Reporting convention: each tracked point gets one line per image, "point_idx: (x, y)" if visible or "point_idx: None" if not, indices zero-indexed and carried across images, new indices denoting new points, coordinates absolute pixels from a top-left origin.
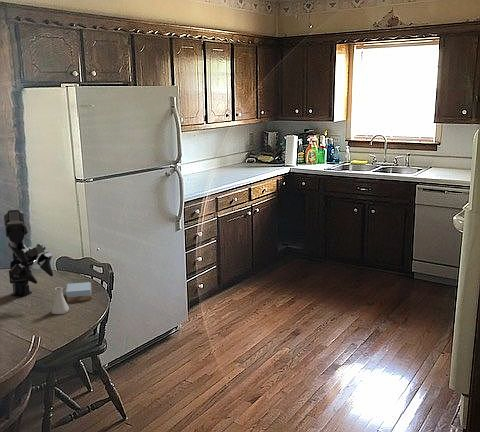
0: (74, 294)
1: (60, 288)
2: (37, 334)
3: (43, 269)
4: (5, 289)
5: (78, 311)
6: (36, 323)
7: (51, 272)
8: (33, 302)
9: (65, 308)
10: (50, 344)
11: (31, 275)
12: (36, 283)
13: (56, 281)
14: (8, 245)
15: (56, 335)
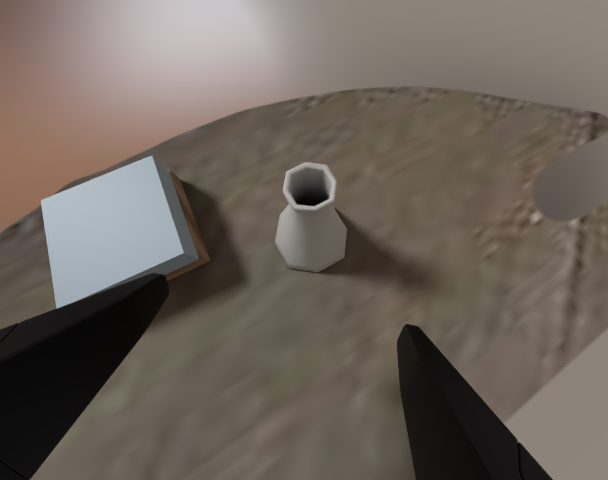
0: (181, 223)
1: (289, 188)
2: (525, 210)
3: (28, 467)
4: None
5: None
6: (446, 267)
7: (130, 290)
8: (234, 428)
9: (318, 202)
10: (562, 133)
11: (502, 446)
12: (400, 336)
13: None
14: None
15: (500, 147)
